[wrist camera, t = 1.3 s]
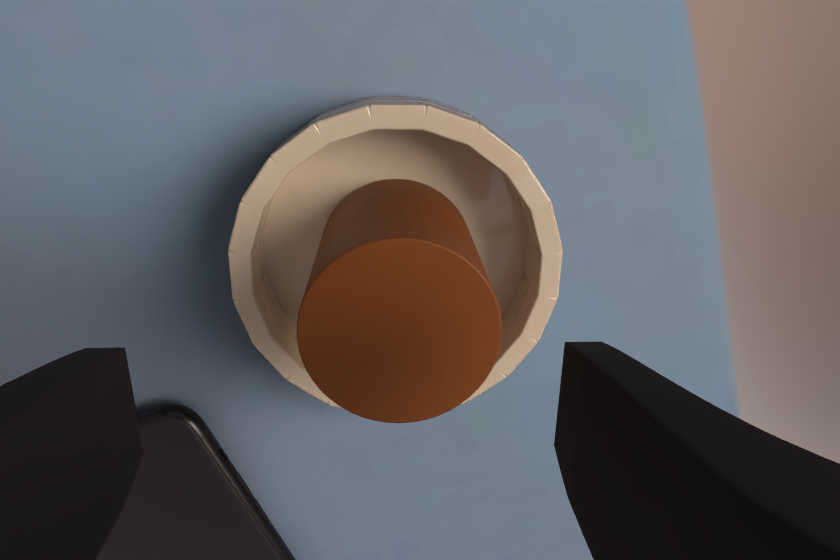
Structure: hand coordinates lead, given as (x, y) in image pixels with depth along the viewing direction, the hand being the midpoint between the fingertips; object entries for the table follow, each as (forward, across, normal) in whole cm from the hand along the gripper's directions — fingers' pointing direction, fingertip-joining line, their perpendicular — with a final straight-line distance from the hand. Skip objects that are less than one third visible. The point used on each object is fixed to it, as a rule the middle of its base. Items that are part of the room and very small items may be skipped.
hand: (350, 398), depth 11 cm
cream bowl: (+9, -1, 0) cm, 9 cm away
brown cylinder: (+8, -1, 0) cm, 9 cm away
